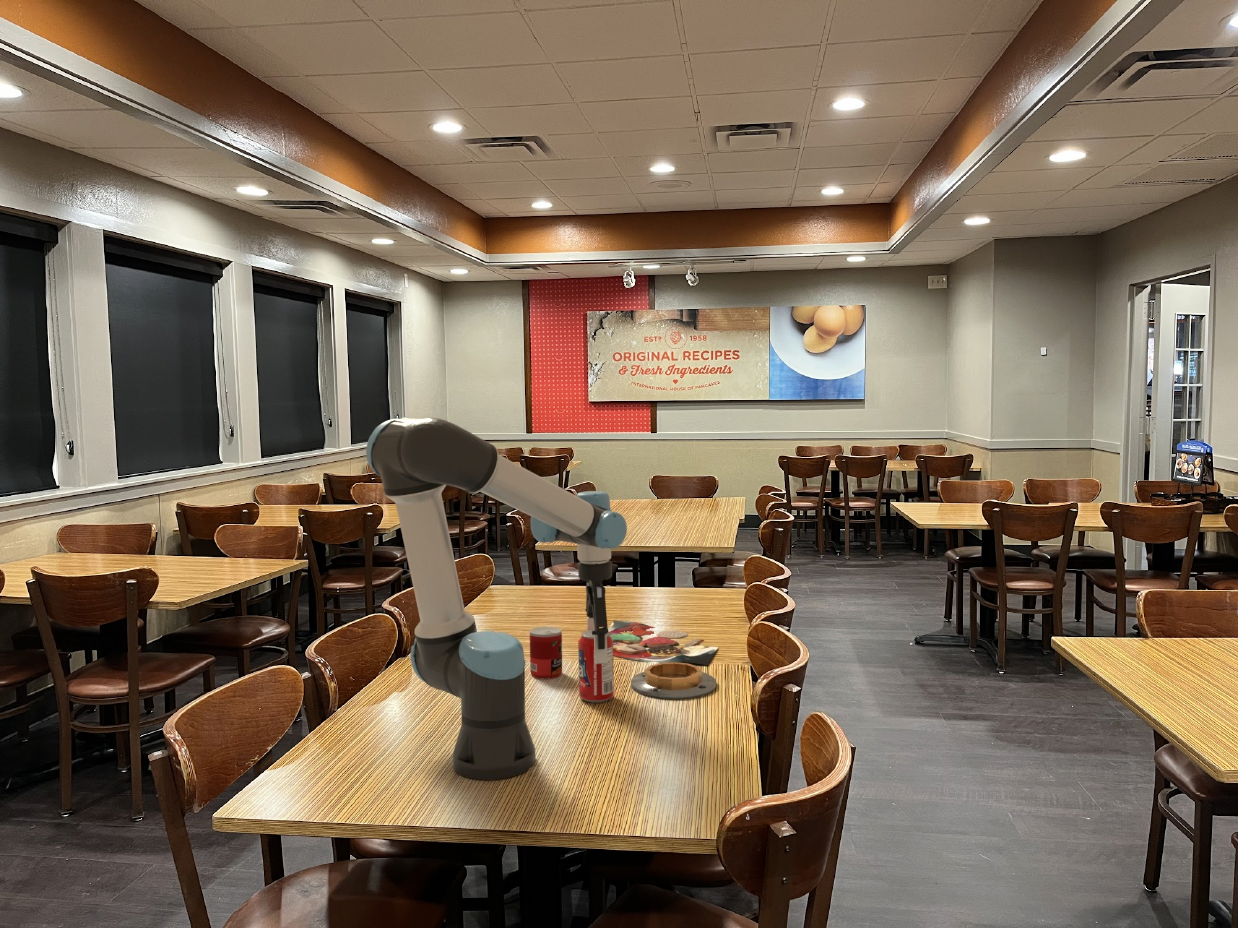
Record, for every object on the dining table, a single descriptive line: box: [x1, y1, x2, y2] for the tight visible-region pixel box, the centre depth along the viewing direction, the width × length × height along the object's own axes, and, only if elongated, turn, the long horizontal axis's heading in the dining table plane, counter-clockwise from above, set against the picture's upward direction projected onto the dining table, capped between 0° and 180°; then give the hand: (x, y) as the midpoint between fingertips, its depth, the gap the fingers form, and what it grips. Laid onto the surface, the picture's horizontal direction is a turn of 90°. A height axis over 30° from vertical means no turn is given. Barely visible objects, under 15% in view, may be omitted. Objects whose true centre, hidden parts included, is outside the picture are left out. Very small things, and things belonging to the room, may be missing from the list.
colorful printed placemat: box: [608, 619, 719, 666], centre depth 239 cm, size 35×35×2 cm
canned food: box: [529, 626, 563, 680], centre depth 212 cm, size 8×8×11 cm
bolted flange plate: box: [630, 662, 717, 700], centre depth 203 cm, size 20×20×4 cm
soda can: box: [577, 630, 615, 704], centre depth 193 cm, size 8×8×15 cm
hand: (597, 653), depth 194 cm, fingers open, 13 cm apart
